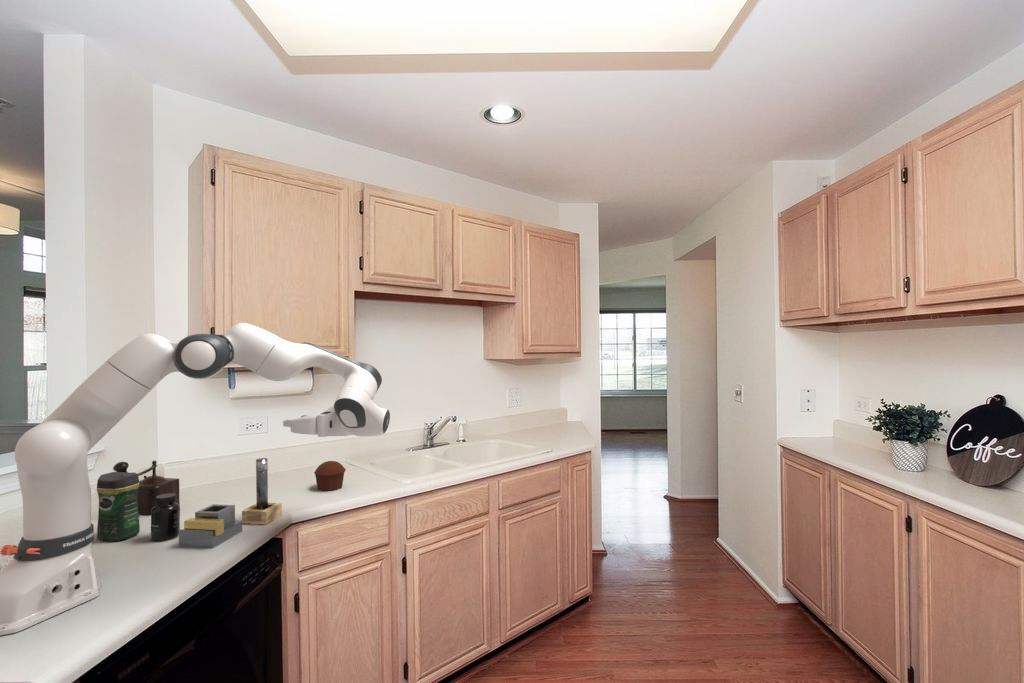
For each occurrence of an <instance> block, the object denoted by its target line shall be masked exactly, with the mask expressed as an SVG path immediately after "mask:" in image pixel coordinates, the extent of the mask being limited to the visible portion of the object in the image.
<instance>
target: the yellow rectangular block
mask: <svg viewBox="0 0 1024 683" xmlns="http://www.w3.org/2000/svg"><path fill="white" fill-rule="evenodd" d="M183 526H184V527H183V530H206V531H213V536H218V535H220V534H222V533H224V519H204V518H195V517H191V518H188V519H186V520H184V521H183Z"/></svg>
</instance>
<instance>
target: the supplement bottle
mask: <svg viewBox="0 0 1024 683" xmlns="http://www.w3.org/2000/svg"><path fill="white" fill-rule="evenodd" d="M175 501H176V494H174V493H168V494H162V495H159V496H157V497H156V502H155V504H156V506H154V507H153V508H152V510H151V515H150V539H151V541H153V542H158V543H159V542H167V541H170V540H173V539H175V538H176V539H177V537H179V530H180V529H181V516H180V515H181V506H180V505H181V504H180V505H179V504H178V503H176V502H175Z"/></svg>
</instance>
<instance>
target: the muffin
mask: <svg viewBox="0 0 1024 683" xmlns="http://www.w3.org/2000/svg"><path fill="white" fill-rule="evenodd" d="M346 471H347V469H346V468H345V466H343V464H341V463H340V462H339V461H336V460H328V461H324V462H322V463H320V464H319V466H318V467H317V468H316V469H315V471H314V472H313V473H314V476H315V480H316V486H317V491H319V490H320V492H328V491H329V492H333V491H338V490H341V489H342V488H343V482H344V476H345V472H346Z"/></svg>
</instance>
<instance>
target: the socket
mask: <svg viewBox="0 0 1024 683" xmlns="http://www.w3.org/2000/svg"><path fill="white" fill-rule="evenodd" d="M194 518H204V519H224V533H222V534H220V535H218V536H213V531H206V530H184V529H181V528H180V530H179V535H178V547H180V548H182V547H183V548H202V549H213V548H216V547H217V546H219V545H220V544H222V543H225V542H226V541H228V540H230V539H232V538H233V537H235V536H236V535H238V534H240V533H242V532H243V524H242V520H236V505H235V504H211V505H208V506H207V507H204V508H202V509H199V510H198V511H196V512H194ZM241 531H242V532H241ZM234 535H235V536H234Z"/></svg>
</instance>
